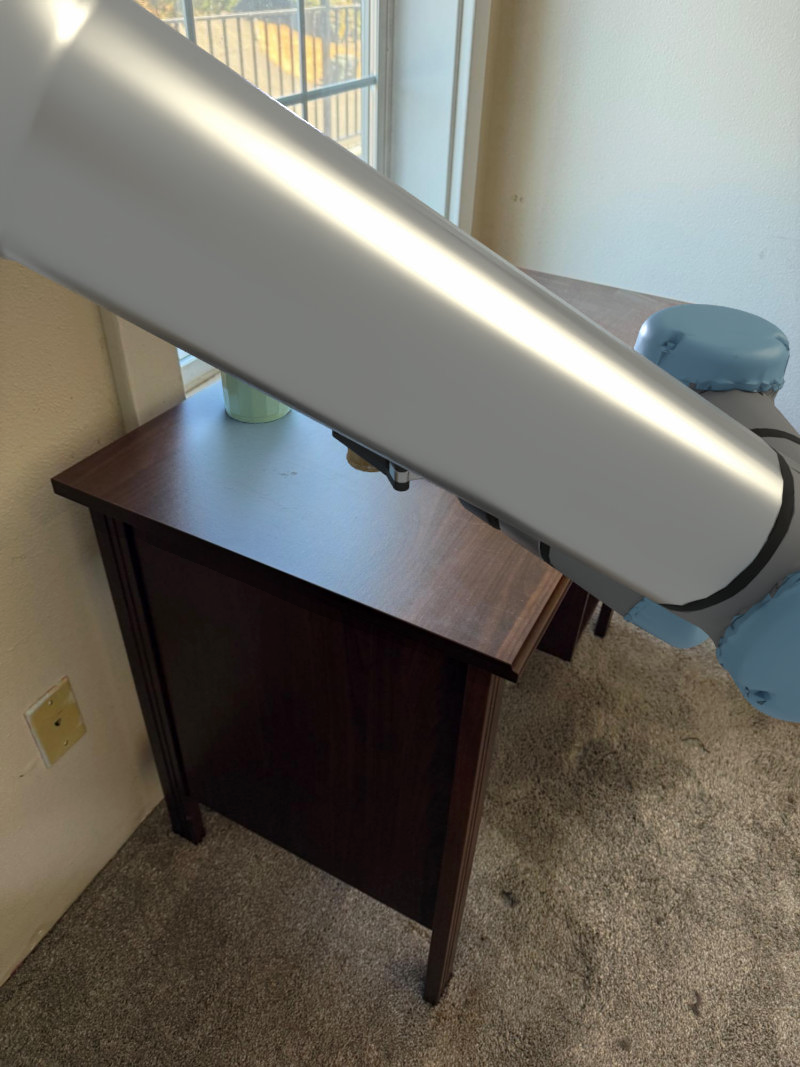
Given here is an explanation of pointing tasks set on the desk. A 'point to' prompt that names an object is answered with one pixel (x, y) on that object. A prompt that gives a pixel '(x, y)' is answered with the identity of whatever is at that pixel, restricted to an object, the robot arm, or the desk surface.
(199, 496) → the desk surface
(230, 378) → the holder
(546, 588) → the desk surface
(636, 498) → the robot arm
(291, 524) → the desk surface
